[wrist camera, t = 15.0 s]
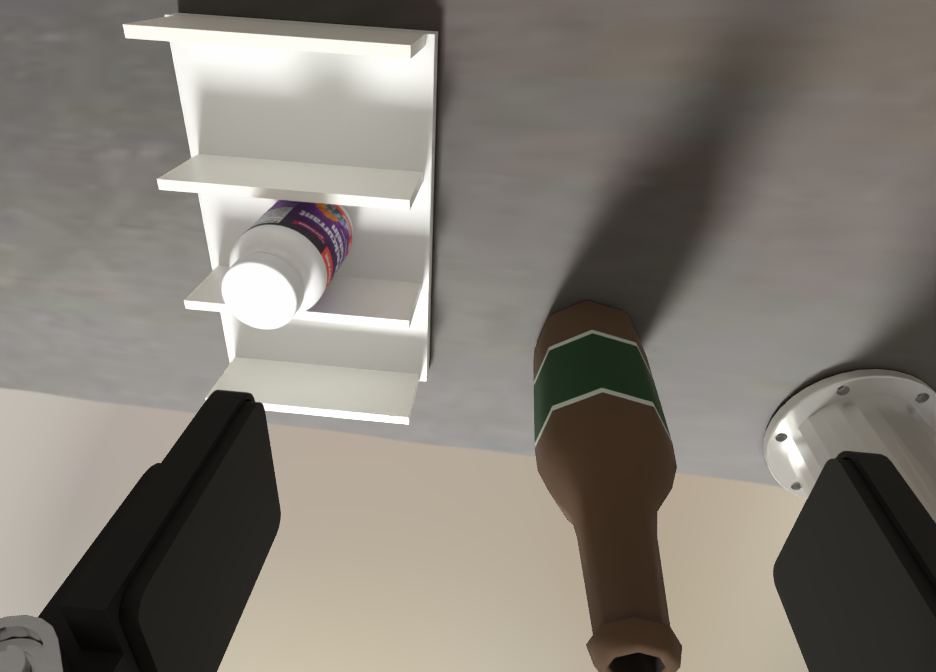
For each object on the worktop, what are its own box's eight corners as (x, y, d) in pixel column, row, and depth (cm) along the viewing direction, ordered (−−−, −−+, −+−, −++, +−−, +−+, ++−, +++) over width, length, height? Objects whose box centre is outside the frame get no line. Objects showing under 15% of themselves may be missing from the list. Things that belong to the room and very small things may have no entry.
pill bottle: (370, 246, 40) (330, 322, 32) (303, 275, 42) (248, 354, 33) (326, 172, 38) (270, 232, 29) (257, 205, 39) (184, 272, 31)
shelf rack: (438, 31, 34) (421, 46, 29) (429, 369, 47) (415, 425, 41) (178, 12, 35) (112, 23, 29) (237, 351, 47) (199, 403, 42)
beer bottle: (529, 299, 43) (532, 610, 22) (643, 292, 42) (754, 611, 21) (536, 388, 47) (543, 719, 27) (639, 383, 46) (729, 724, 26)
